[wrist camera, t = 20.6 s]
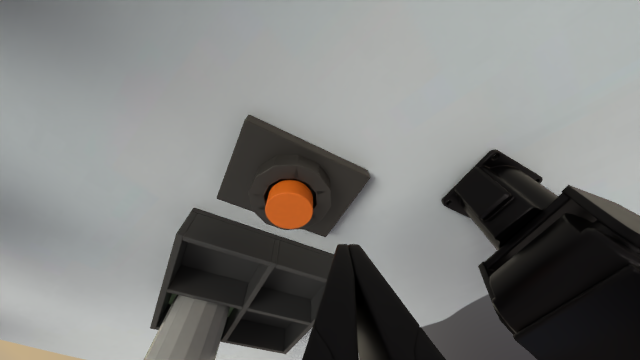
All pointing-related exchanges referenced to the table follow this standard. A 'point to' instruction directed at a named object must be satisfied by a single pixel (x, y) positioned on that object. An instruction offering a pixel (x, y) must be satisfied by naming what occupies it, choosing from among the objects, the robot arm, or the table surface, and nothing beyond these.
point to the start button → (289, 204)
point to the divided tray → (246, 280)
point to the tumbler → (189, 331)
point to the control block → (289, 174)
